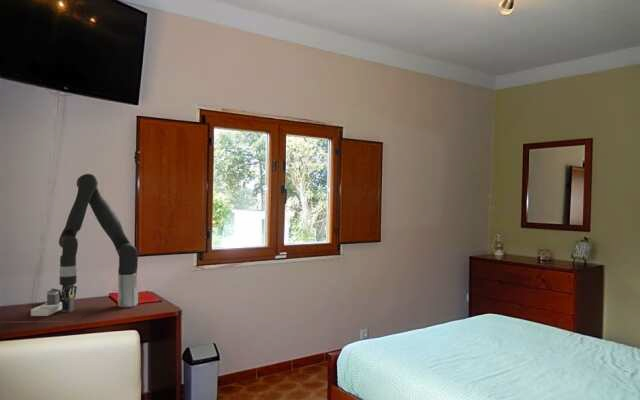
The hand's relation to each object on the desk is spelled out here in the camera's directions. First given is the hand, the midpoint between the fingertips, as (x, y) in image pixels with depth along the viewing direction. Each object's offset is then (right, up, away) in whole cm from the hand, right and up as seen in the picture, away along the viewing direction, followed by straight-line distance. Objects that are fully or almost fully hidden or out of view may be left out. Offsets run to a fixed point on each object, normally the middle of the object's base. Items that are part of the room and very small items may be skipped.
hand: (67, 308), depth 227 cm
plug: (0, -2, 0) cm, 2 cm away
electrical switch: (-15, -2, +16) cm, 22 cm away
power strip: (-9, -2, -2) cm, 9 cm away
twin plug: (-9, -1, +3) cm, 10 cm away
